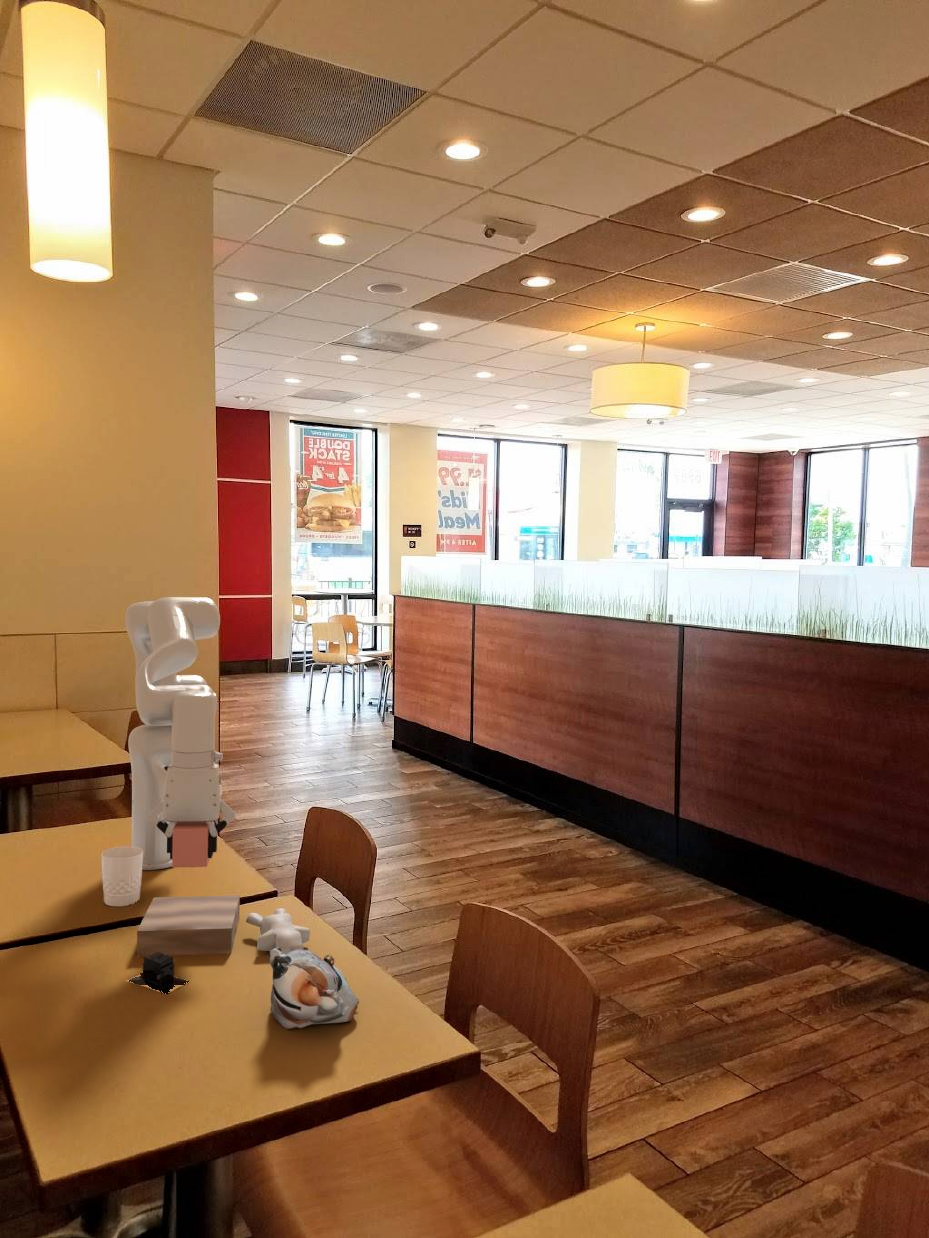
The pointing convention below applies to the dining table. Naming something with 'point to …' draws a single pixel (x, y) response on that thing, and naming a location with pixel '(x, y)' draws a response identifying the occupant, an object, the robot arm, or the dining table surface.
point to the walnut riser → (189, 925)
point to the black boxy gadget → (158, 973)
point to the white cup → (122, 875)
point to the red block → (190, 844)
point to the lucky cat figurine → (309, 990)
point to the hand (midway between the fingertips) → (192, 855)
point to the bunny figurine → (279, 932)
